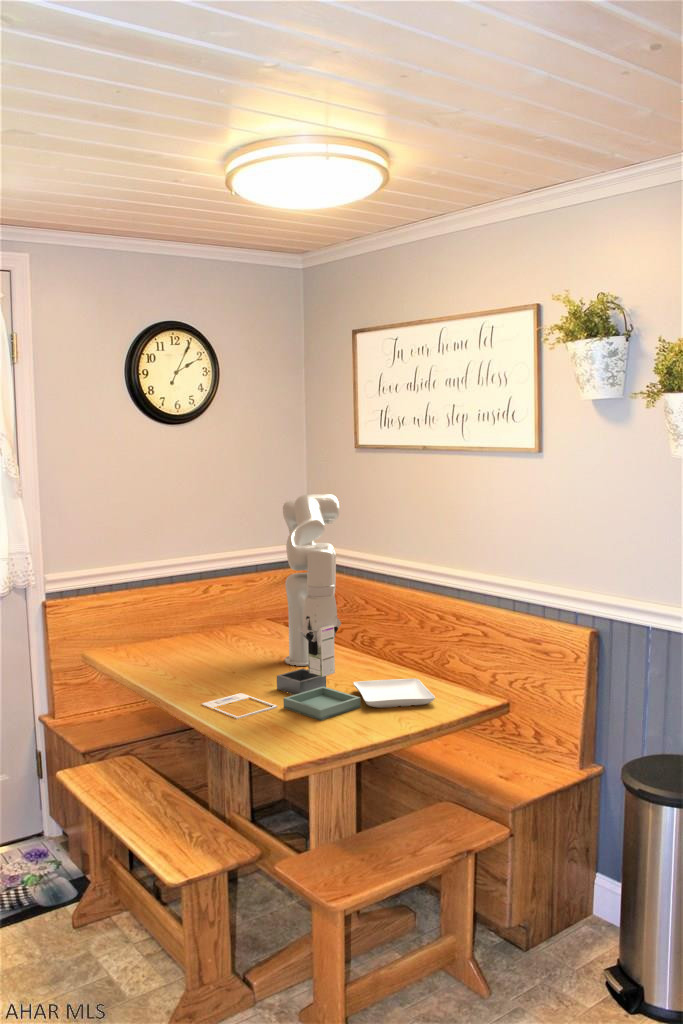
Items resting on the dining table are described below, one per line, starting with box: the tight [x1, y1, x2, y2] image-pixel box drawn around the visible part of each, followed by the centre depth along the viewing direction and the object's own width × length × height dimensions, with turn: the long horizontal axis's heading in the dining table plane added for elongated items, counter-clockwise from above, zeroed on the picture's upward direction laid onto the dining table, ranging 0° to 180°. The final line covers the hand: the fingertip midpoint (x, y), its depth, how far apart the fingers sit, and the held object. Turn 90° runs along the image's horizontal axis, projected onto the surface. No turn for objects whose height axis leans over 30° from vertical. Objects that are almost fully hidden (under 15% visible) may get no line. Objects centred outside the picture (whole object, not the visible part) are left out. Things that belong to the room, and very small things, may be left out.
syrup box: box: [308, 625, 336, 677], centre depth 250 cm, size 6×6×14 cm
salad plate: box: [352, 678, 436, 709], centre depth 260 cm, size 21×21×3 cm
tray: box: [283, 686, 362, 722], centre depth 251 cm, size 16×16×3 cm
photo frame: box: [201, 692, 279, 720], centre depth 254 cm, size 15×1×18 cm
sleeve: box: [276, 668, 327, 695], centre depth 270 cm, size 11×11×4 cm
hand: (321, 651), depth 250 cm, fingers closed on syrup box, 5 cm apart
